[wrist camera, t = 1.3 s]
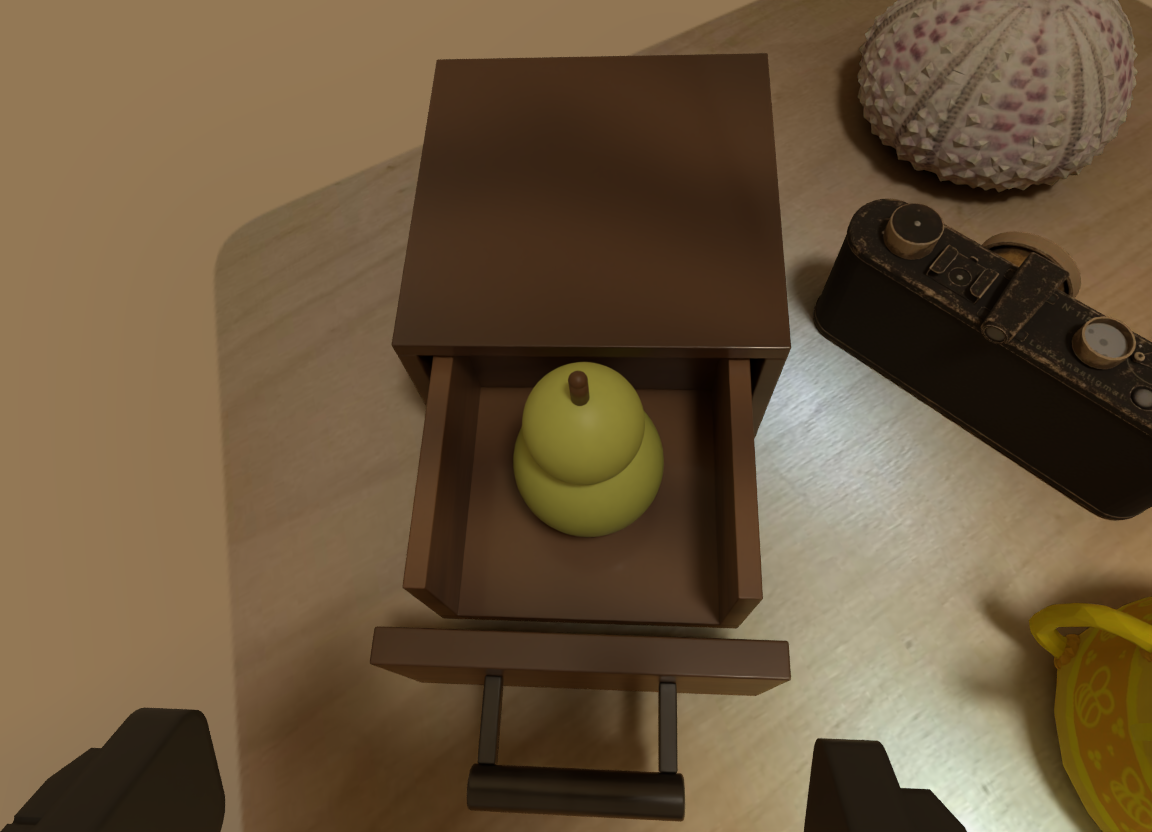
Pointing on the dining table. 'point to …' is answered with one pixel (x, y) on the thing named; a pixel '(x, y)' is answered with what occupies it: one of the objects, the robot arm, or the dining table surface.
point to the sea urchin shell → (998, 86)
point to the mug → (1104, 707)
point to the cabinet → (598, 215)
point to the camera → (999, 348)
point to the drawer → (585, 571)
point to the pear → (587, 451)
